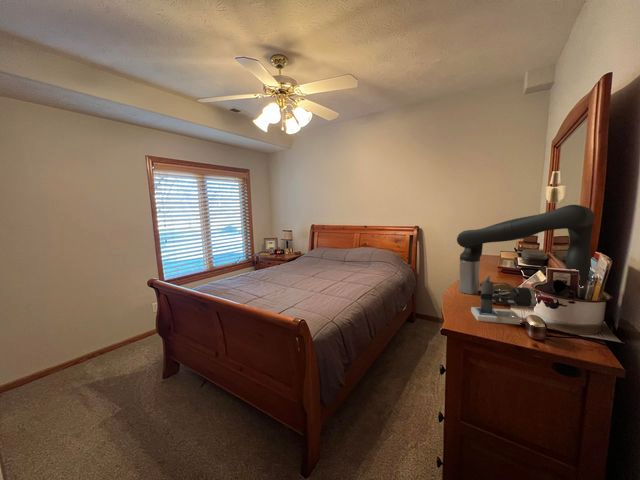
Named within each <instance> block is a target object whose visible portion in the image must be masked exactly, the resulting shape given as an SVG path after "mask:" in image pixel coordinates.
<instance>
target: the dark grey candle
mask: <svg viewBox="0 0 640 480" xmlns="http://www.w3.org/2000/svg"><path fill="white" fill-rule="evenodd" d="M490 279H491V278H490V276H489V275H485V280H482V281H481V283H482V287H481V294H491V295H492V294H493V282H494V281H490ZM493 304H494V303H493V301H492V300H482V299H481V298H480V308H481V313H488V314H492V308H493Z"/></svg>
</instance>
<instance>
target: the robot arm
mask: <svg viewBox="0 0 640 480" xmlns="http://www.w3.org/2000/svg"><path fill="white" fill-rule="evenodd" d="M594 223H595V213H594V212H593V210H592V209H590V208H589V207H587V206H583V205H579V204H569V205H564V206H561V207H558V208H556V209H553V210H548V211H546V212H544V213H539V214H534V215H528V216H523V217H518V218H513V219H509V220H505V221H503V222H502V221H501V222H498V223H495V224H492V225H489V226H486V227H482V228H478V229H469V230H463V231H461V232H460V233H459V234H458V235H457V237H456V242H457V244H458V245H459V246H460V247H462V248H464V249H463V251H462V253H461V254H460V256H459V279H458V291H459V292H460V293H463V294H467V295H477V296H478V297H480V300H481V299H482V300H492V301H495V302H496V303H503V304H502V305H511V306H516V307H523V308H526V307H527V308H536V307H535V306H536V304H537V301H536V297H535V292H534V289H533V288H534V287H524V286H523V287H522V286H521V287H520V286H514V288H513V289H512V291H508V290H502V289H501V288H496V289H493V294H492V295H491V294H481V290H480V288H479V287H480V266H481V262H480V261H481V257H482V253H483V246H484V245H483V244H488V243H499V242H501V243H502V242H509V241H516V240H517V241H518V240H522V239H526V238H529V237H532V236H535V235H537V234H539V233H540V234H541V233H543V232H547V231H555V230H564V229H565V230H567V233H568V238H569V239H568V240H569V242H568V243H569V244H568V249H567V253H566V258H565V270H566V269H576V270H579V275H580V280H579V285H580V287H582V286H584V285H585V284H586V281H587V277H588V275H589V271H590V267H591V268H592V256H591V250H592V248H591V247H592V237H593V235H592V233H593V229H594ZM496 303H495V304H496Z"/></svg>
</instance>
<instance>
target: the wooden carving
mask: <svg viewBox="0 0 640 480" xmlns="http://www.w3.org/2000/svg"><path fill="white" fill-rule="evenodd" d="M505 283H506V282H495V284H493V289H496V288H501V289H502V290H508V291H512V289H513V288H514V287H515V286H514V285H512V284H509V283H508V284H509V285H508V284H505ZM510 285H511V286H510ZM493 304H495V305H504V304H503V303H496V302H495V301H493Z"/></svg>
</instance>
